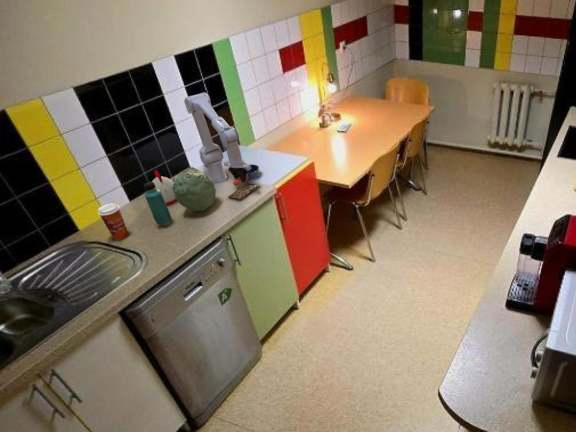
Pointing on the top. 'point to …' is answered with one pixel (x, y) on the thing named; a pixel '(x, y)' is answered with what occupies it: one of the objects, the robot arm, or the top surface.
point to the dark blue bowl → (253, 172)
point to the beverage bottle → (157, 204)
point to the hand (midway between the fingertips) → (241, 181)
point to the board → (243, 192)
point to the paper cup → (113, 220)
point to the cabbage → (194, 189)
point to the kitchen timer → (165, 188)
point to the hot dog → (239, 180)
